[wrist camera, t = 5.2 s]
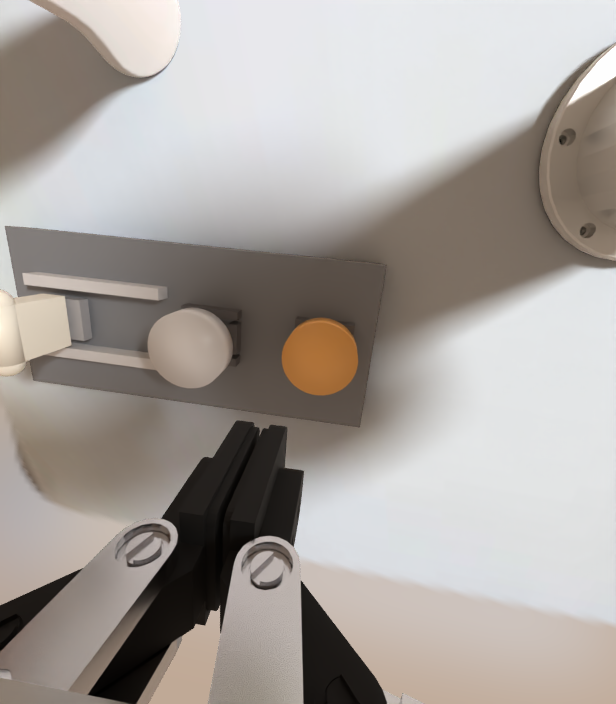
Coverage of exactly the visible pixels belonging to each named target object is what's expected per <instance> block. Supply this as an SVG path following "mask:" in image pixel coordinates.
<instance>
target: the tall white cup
mask: <svg viewBox="0 0 616 704" xmlns="http://www.w3.org/2000/svg"><path fill="white" fill-rule="evenodd" d="M29 1H31V2H32V3H34V4H36V5H38V6H40V7H42V8H44V9H45V10H47V11H49V12H51V13H53V14H54V15H56V16H58V17H60V18H61V19H63V20H65V21H66V22H68V23H69V24H70V25H72V26H73V27H75V28H76V29H77V30H78V31H79V32H81V33H82V34H83V35H84V36H85V37H86V38H87V39H88V41H89V42H90V43H91V44H92V45H93V47H94V48H95V49H96V50H97V51H98V53H99V54H100V55H101V56H102V57H103V58H104V59H105V60H106V61H107V62H108V63H109V64H110V65H111V66H112V67H113V68H114V69H116V70H117V71H119V72H121V73H122V74H125V75H127V76H130V77H135V78H145V77H150V76H153V75H155V74H157V73H158V72H160V71H161V70H162V69H164V68H165V67H166V66H167V64H168V63H169V62H170V60H171V59H172V57H173V56H174V54H175V51H176V49H177V46H178V43H179V38H180V32H181V14H180V7H179V3H178V0H29Z"/></svg>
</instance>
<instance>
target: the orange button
mask: <svg viewBox="0 0 616 704" xmlns="http://www.w3.org/2000/svg"><path fill="white" fill-rule="evenodd" d="M282 366H283V369H284V372H285V374H286V376H287V378H288V379H289V380H290V382H291V383H292V384H293V385H294V386H296V387H297V388H298V389H300V390H301V391H304V392H306V393H309V394H312V395H330V394H333V393H336V392H338V391H340V390H342V389H343V388H345V387H346V386H347V385H348V384H349V383H350V382H351V380H352V379H353V377H354V375H355V373H356V370H357V366H358V353H357V346H356V342H355V339H354V337H353V335H352V334H351V332H350V331H349V330H348V329H347V328H346V327H345V326H344V325H342V324H341V323H339V322H337V321H335V320H332V319H329V318H313V319H310V320H307V321H305V322H303V323H301V324H300V325H298V326H297V327H296V328H295V329H294V330H293V332H292V333H291V335H290V336H289V338H288V339H287V341H286V342H285V345H284V347H283V351H282Z"/></svg>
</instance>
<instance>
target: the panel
mask: <svg viewBox="0 0 616 704" xmlns="http://www.w3.org/2000/svg"><path fill="white" fill-rule="evenodd" d="M5 230H6V235H7V241H8V246H9V252H10V257H11V262H12V268H13V273H14V279H15V284H16V289H17V295H18V297H23V296H30V295H37V294H43V293H44V294H52V295H60V296H67V297H76V298H84V299H88V306H89V314H90V322H91V331H92V338H91V339H89V340H86V341H81V340H73V339H71V344H72V345H71V346H68V347H65V348H62V349H59V350H57V351H54V352H51V353H48V354H45V355H42V356H39V357H37V358H34V359H31V360H30V365H31V370H32V376H33V380H34V381H41V382H48V383H55V384H62V385H69V386H76V387H83V388H90V389H97V390H104V391H111V392H118V393H125V394H132V395H139V396H145V397H152V398H159V399H166V400H173V401H180V402H187V403H194V404H201V405H208V406H215V407H222V408H229V409H236V410H243V411H250V412H257V413H264V414H271V415H278V416H285V417H292V418H299V419H306V420H313V421H320V422H327V423H334V424H341V425H348V426H354V427H360V422H361V416H362V410H363V404H364V398H365V392H366V386H367V380H368V374H369V368H370V362H371V356H372V350H373V344H374V338H375V332H376V326H377V320H378V314H379V308H380V302H381V296H382V290H383V284H384V278H385V272H386V265H384V264H377V263H367V262H357V261H348V260H338V259H328V258H319V257H309V256H299V255H290V254H280V253H270V252H261V251H251V250H241V249H232V248H222V247H212V246H203V245H193V244H183V243H174V242H164V241H154V240H145V239H135V238H125V237H116V236H106V235H96V234H87V233H77V232H67V231H58V230H48V229H38V228H28V227H13V226H5ZM185 308H200V309H204V310H207V311H209V312H211V313H213V314H214V315H216V316H217V317H218V318H219V319H220V320H221V321H222V322H223V323H224V324H225V325H226V327H227V329H228V330H229V332H230V335H231V338H232V342H233V354H232V358H231V361H230V363H229V365H228V366H227V367H226V369H225V370H224V371H223V372H222V373H221V374H220V375H219V376H218V377H217V378H216V379H215V380H214V381H212V382H211V383H210V384H208V385H206V386H203V387H200V388H183V387H180V386H177V385H174V384H172V383H171V382H169V381H167V380H166V379H165V378H163V377H162V376H161V375H160V374H159V372H158V371H157V370H156V369H155V367H154V366H153V364H152V362H151V359H150V357H149V353H148V336H149V333H150V331H151V328H152V327H153V325H154V324H155V323H156V322H157V321H158V320H159V319H160V318H162V317H163V316H165V315H168V314H170V313H173V312H176V311H179V310H181V309H185ZM313 318H329V319H332V320H335V321H337V322H339V323H341V324H342V325H344V326H345V327H346V328H347V329H348V330H349V331H350V332H351V334H352V335H353V337H354V339H355V342H356V346H357V353H358V366H357V370H356V373H355V375H354V377H353V379H352V380H351V382H350V383H349V384H348V385H347V386H346V387H345V388H343V389H342V390H340V391H338V392H336V393H333V394H330V395H312V394H309V393H306V392H304V391H301V390H300V389H298V388H297V387H296V386H294V385H293V384H292V383H291V382H290V380H289V379H288V378H287V376H286V374H285V372H284V369H283V366H282V351H283V347H284V345H285V342H286V341H287V339H288V338H289V336H290V335H291V333H292V332H293V330H294V329H295V328H296V327H297V326H298V325H300V324H301V323H303V322H305V321H307V320H310V319H313Z"/></svg>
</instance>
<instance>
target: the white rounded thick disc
mask: <svg viewBox="0 0 616 704" xmlns="http://www.w3.org/2000/svg"><path fill="white" fill-rule="evenodd" d="M148 353H149V357H150V359H151V362H152V364H153V366H154V367H155V369H156V370H157V371H158V372H159V374H160V375H161V376H162V377H163V378H165V379H166V380H167V381H169V382H171V383H172V384H174V385H177V386H180V387H183V388H200V387H203V386H206V385H208V384H210V383H211V382H212V381H214V380H215V379H216V378H217V377H218V376H219V375H220V374H221V373H222V372H223V371H224V370H225V369H226V367H227V366H228V365H229V363H230V361H231V358H232V354H233V342H232V338H231V335H230V332H229V330H228V329H227V327H226V325H225V324H224V323H223V322H222V321H221V320H220V319H219V318H218V317H217V316H216V315H214V314H213V313H211V312H209V311H207V310H204V309H200V308H185V309H181V310H179V311H176V312H173V313H170V314H168V315H165V316H163V317H162V318H160V319H159V320H158V321H157V322H156V323H155V324H154V325H153V327H152V328H151V331H150V333H149V336H148Z"/></svg>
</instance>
